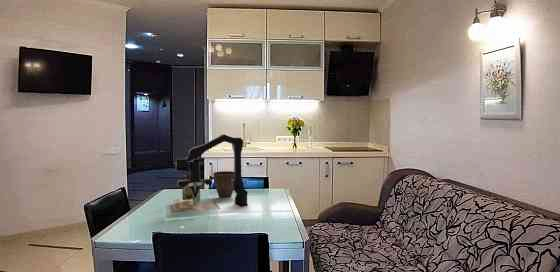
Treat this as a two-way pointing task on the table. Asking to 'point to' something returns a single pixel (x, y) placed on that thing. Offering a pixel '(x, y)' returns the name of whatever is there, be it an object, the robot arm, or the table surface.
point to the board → (197, 207)
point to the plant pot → (223, 183)
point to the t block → (183, 204)
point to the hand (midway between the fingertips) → (195, 197)
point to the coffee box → (189, 192)
